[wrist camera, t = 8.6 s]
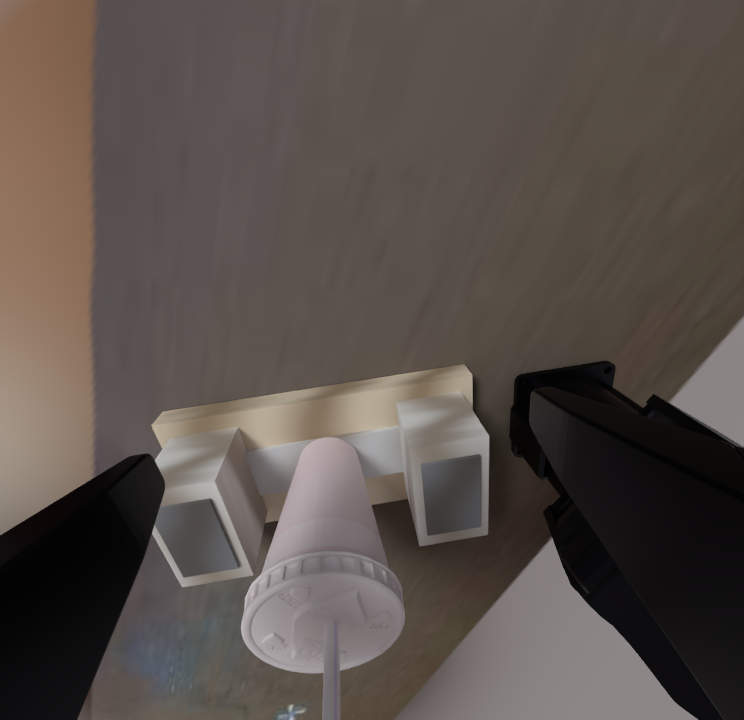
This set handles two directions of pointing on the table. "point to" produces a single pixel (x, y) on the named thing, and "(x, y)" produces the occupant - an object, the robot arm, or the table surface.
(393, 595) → the smoothie
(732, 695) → the robot arm
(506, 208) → the table surface
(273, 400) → the board
